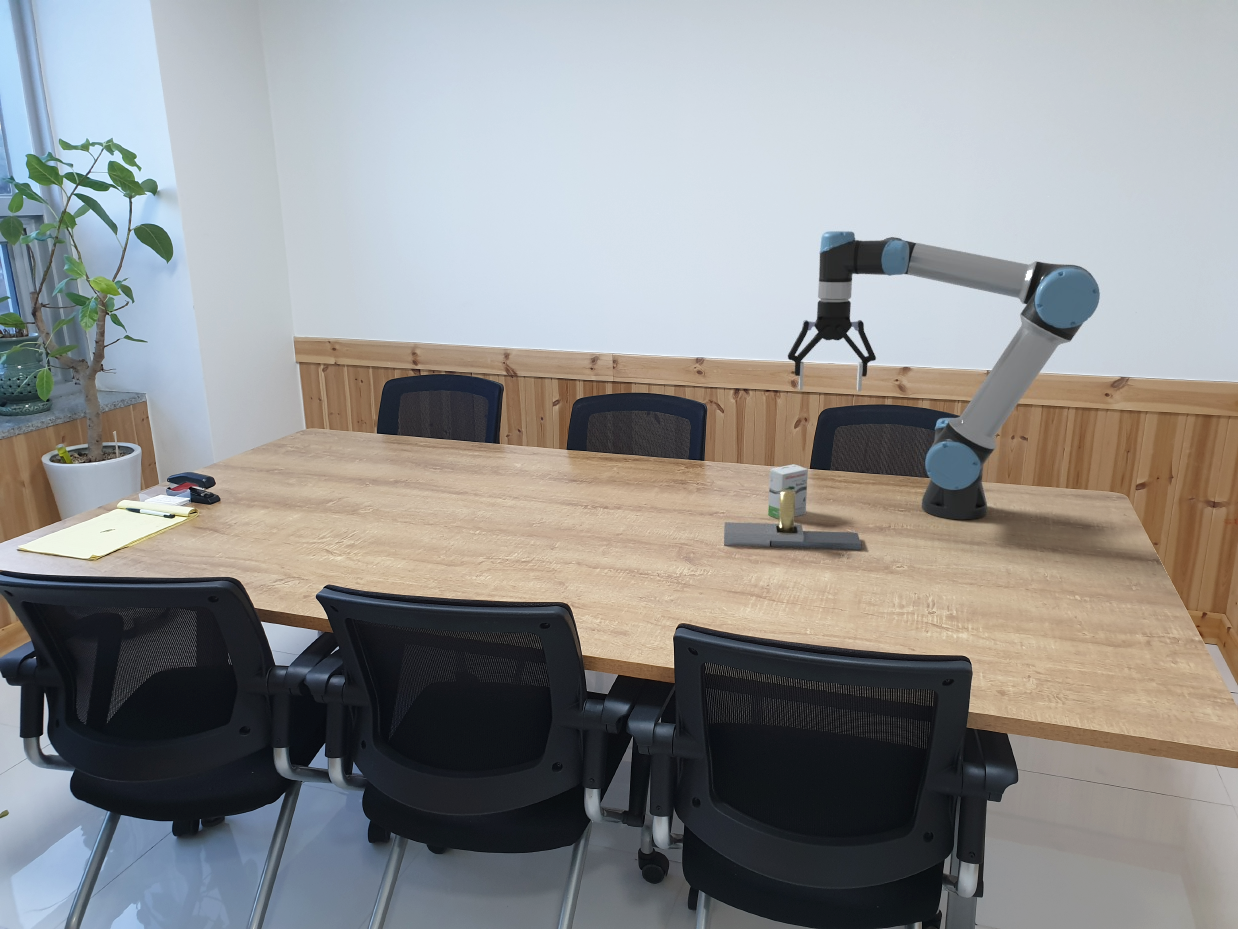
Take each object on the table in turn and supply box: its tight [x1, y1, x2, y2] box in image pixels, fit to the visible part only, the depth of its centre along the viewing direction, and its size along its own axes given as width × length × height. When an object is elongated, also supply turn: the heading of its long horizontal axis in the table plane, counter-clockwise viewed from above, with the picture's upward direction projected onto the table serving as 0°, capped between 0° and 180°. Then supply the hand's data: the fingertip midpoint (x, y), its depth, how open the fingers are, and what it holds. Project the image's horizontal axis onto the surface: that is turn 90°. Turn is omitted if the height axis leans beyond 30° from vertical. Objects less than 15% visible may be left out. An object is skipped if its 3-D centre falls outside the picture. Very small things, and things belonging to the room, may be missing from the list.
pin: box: [778, 489, 796, 533], centre depth 204 cm, size 3×3×12 cm
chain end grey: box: [723, 521, 804, 548], centre depth 206 cm, size 18×7×3 cm, turn 82°
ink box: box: [767, 463, 809, 520], centre depth 222 cm, size 9×5×12 cm, turn 123°
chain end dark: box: [770, 530, 862, 551], centre depth 205 cm, size 20×7×2 cm, turn 82°
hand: (829, 389), depth 217 cm, fingers open, 13 cm apart
